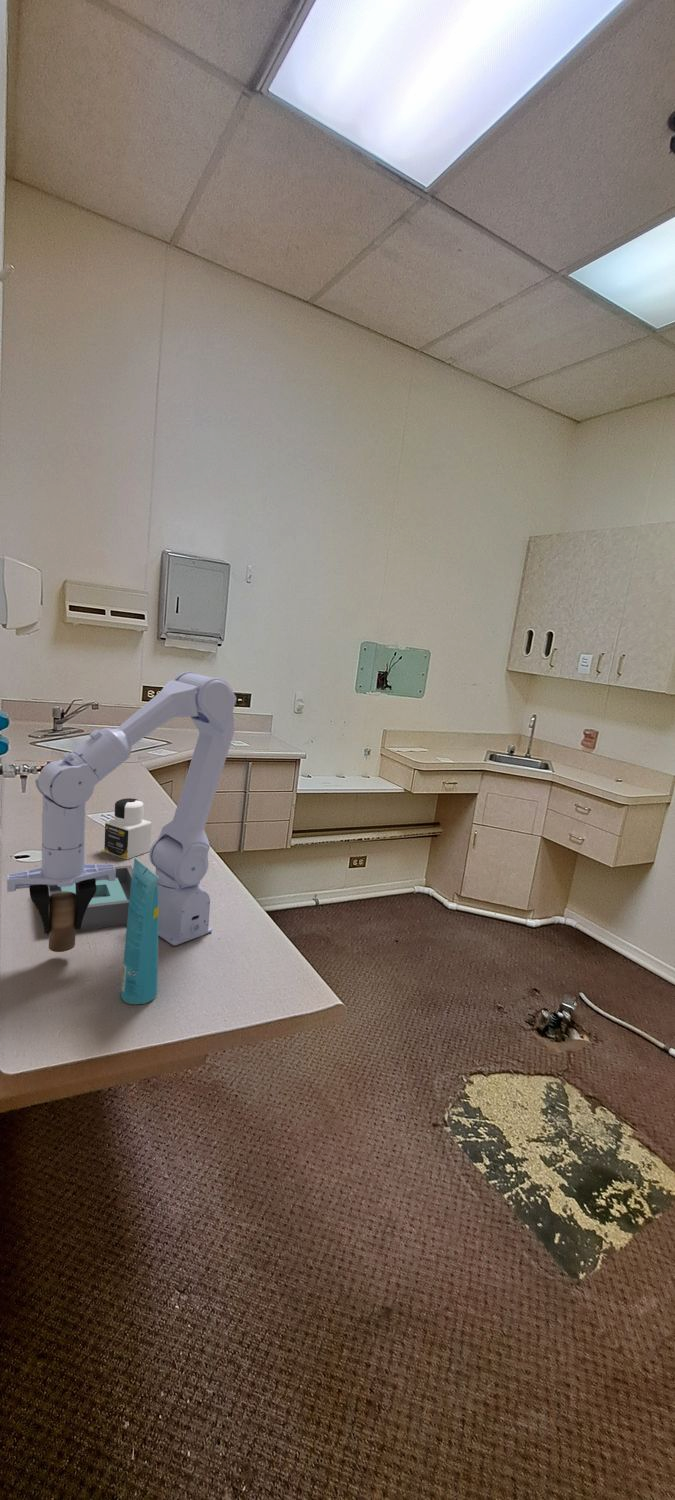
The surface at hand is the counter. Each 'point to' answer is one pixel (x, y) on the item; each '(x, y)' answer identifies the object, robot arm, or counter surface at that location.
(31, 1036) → the counter surface
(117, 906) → the tray
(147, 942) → the tube
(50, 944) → the peg
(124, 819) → the medicine bottle
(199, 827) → the robot arm
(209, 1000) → the counter surface
